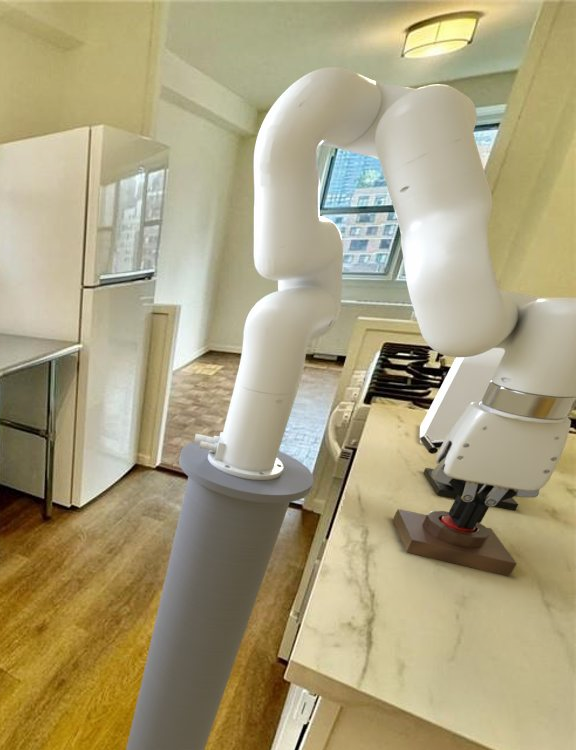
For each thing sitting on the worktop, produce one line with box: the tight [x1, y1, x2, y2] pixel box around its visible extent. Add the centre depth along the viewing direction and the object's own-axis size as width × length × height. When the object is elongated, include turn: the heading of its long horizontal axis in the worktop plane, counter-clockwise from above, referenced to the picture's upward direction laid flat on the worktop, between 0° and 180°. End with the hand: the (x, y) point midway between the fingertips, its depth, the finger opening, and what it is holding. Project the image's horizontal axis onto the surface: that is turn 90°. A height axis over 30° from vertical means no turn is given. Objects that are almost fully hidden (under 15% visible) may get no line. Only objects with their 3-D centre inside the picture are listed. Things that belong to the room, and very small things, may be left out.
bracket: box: [422, 467, 520, 511], centre depth 82 cm, size 10×9×12 cm
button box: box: [392, 508, 518, 577], centre depth 69 cm, size 11×9×4 cm
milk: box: [419, 348, 505, 449], centre depth 96 cm, size 12×12×26 cm
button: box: [440, 516, 476, 533], centre depth 69 cm, size 4×4×2 cm
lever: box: [419, 436, 445, 455], centre depth 82 cm, size 10×6×2 cm, turn 62°
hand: (461, 523), depth 68 cm, fingers closed
